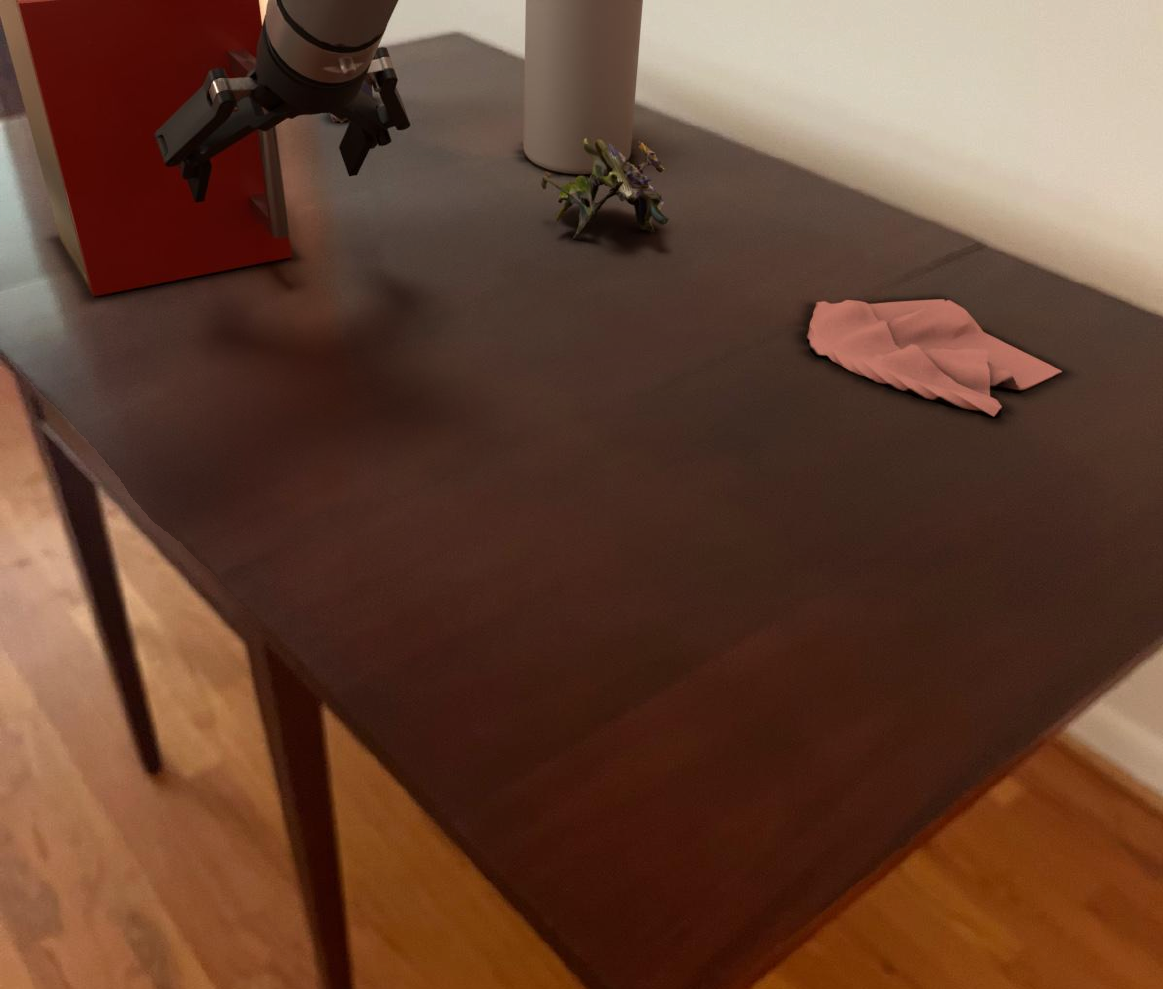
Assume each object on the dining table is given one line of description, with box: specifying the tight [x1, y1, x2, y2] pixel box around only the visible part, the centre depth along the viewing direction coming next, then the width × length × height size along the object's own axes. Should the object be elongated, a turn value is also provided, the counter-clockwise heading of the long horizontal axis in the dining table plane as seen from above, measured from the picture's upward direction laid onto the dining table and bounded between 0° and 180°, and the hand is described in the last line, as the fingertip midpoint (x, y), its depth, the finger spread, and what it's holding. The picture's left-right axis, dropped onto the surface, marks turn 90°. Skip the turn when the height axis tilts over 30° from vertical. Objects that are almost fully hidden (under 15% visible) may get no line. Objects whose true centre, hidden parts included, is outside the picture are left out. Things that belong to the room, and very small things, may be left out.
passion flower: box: [540, 138, 670, 240], centre depth 114 cm, size 11×11×12 cm
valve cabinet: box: [0, 0, 92, 293], centre depth 101 cm, size 12×18×24 cm, turn 121°
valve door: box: [16, 0, 293, 297], centre depth 95 cm, size 7×18×24 cm, turn 121°
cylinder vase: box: [522, 0, 644, 175], centre depth 123 cm, size 12×12×25 cm
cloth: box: [806, 298, 1063, 417], centre depth 100 cm, size 20×22×2 cm
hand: (273, 173), depth 97 cm, fingers open, 13 cm apart
